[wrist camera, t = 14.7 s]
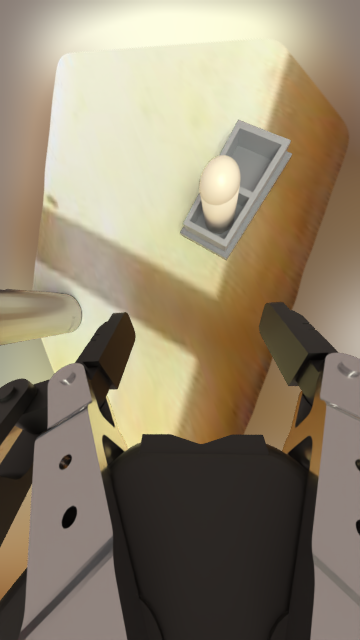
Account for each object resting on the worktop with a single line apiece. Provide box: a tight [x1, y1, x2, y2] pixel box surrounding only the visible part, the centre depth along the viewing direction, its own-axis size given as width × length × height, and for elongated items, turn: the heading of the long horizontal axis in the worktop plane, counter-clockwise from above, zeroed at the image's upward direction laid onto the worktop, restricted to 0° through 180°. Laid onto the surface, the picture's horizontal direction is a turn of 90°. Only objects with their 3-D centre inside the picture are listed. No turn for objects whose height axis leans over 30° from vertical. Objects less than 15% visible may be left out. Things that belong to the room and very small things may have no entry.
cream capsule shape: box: [199, 155, 241, 234], centre depth 21 cm, size 5×5×10 cm
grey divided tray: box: [180, 120, 292, 260], centre depth 25 cm, size 10×17×4 cm, turn 148°
